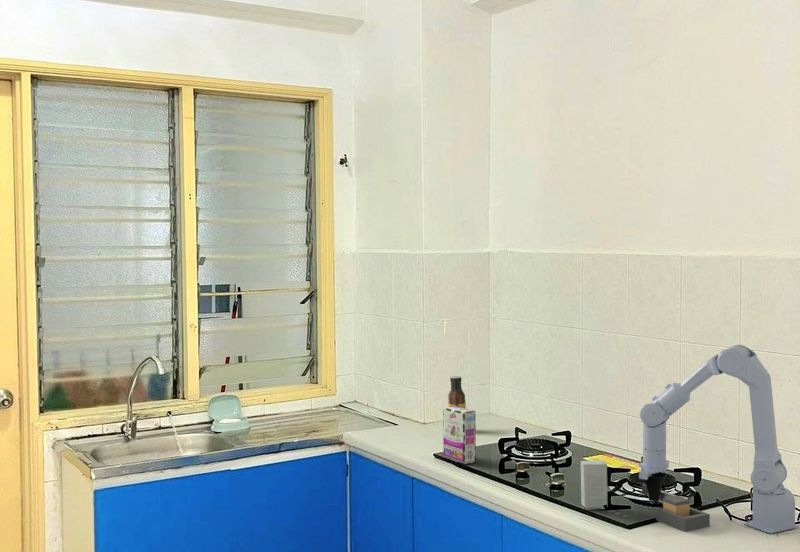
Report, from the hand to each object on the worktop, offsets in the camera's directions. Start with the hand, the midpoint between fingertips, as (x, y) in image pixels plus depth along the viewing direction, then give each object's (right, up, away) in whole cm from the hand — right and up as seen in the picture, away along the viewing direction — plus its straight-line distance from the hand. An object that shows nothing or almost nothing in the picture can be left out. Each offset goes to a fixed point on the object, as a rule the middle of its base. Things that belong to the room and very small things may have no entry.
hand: (653, 500), depth 231 cm
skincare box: (-15, -2, +1) cm, 16 cm away
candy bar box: (-47, 0, +51) cm, 69 cm away
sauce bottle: (-45, +2, +92) cm, 102 cm away
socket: (+4, -2, -11) cm, 12 cm away
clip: (+2, -1, 0) cm, 3 cm away
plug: (+2, -2, -11) cm, 11 cm away
